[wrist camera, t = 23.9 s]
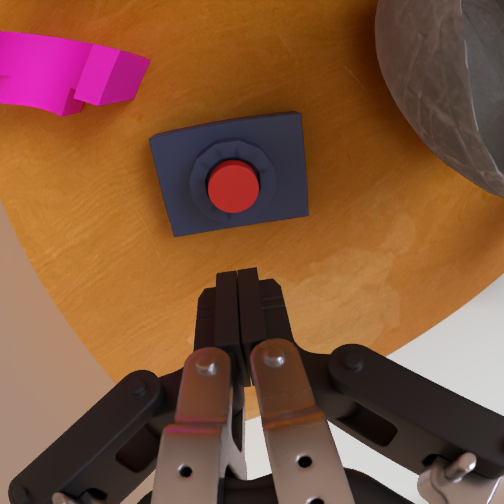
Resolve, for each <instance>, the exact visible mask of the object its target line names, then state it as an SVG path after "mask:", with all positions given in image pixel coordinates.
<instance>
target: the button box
mask: <svg viewBox="0 0 504 504" xmlns="http://www.w3.org/2000/svg"><path fill="white" fill-rule="evenodd" d="M149 142H150V146H151V150H152V155H153V159H154V163H155V167H156V171H157V175H158V179H159V183H160V187H161V191H162V195H163V198H164V202H165V206H166V210H167V213H168V217H169V220H170V224H171V228H172V231H173V234H174V237H178V236H184V235H190V234H196V233H202V232H208V231H214V230H220V229H226V228H232V227H238V226H245V225H251V224H258V223H264V222H271V221H277V220H284V219H291V218H298V217H305V216H309V210H308V193H307V178H306V165H305V152H304V141H303V130H302V120H301V113H298V112H295V111H291V112H281V113H272V114H263V115H255V116H248V117H241V118H234V119H228V120H222V121H216V122H211V123H205V124H200V125H195V126H190V127H185V128H181V129H176V130H171V131H167V132H163V133H159V134H155V135H154V136H152V137H151V138H149ZM227 160H239V161H242V162H245V163H246V164H248V165H249V166H250V167H251V168H252V169H253V171H254V172H255V175H256V178H257V181H258V185H259V192H258V196H257V199H256V200H255V202H254V203H253V204H252V205H251V206H250V207H249V208H247V209H246V210H244V211H241V212H236V213H230V212H225V211H222V210H220V209H219V208H217V207H216V206H215V205H214V204H213V203H212V201H211V200H210V197H209V194H208V185H209V179H210V175H211V173H212V171H213V170H214V168H215V167H216V166H217V165H219V164H220V163H222V162H224V161H227Z"/></svg>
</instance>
